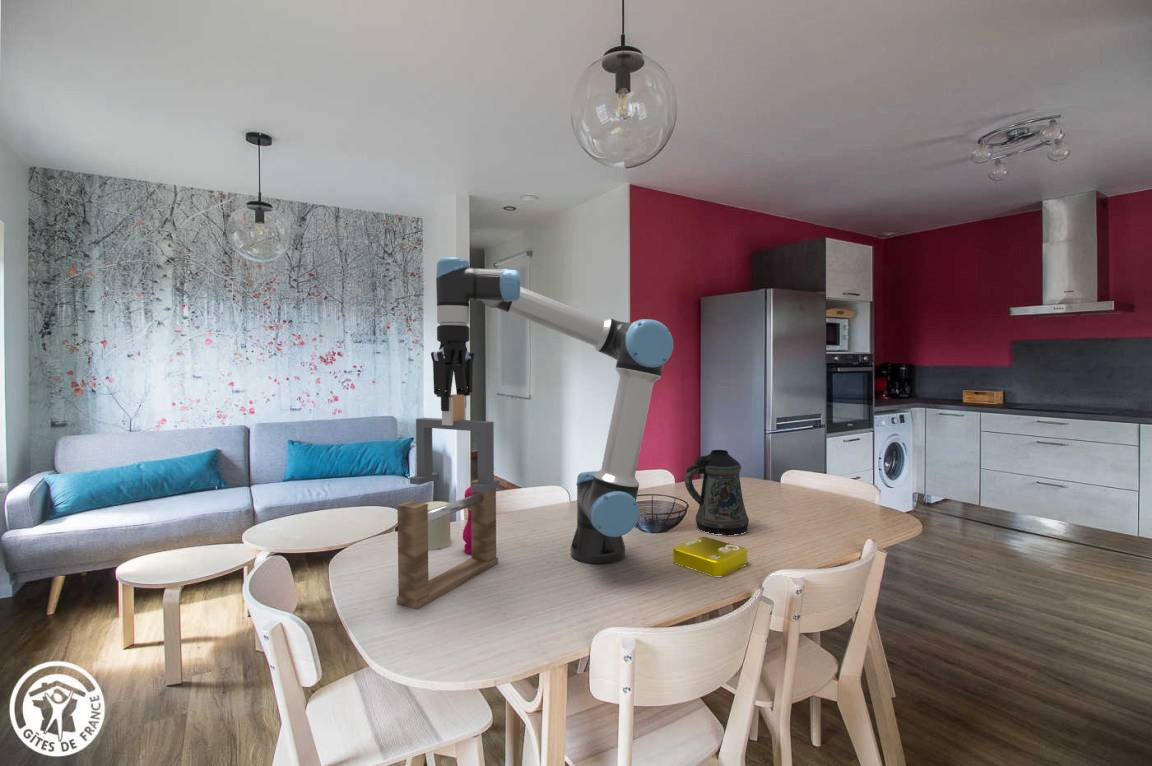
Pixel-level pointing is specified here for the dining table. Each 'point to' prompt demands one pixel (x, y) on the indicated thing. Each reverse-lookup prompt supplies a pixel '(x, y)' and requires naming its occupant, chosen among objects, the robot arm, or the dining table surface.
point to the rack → (415, 547)
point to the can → (438, 528)
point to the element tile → (710, 556)
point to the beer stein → (718, 494)
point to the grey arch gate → (482, 427)
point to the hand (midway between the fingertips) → (454, 423)
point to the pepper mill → (468, 527)
